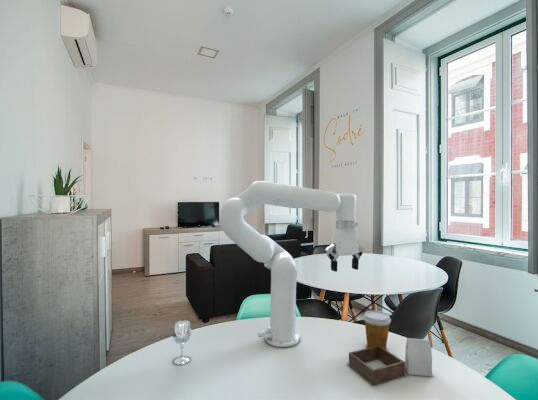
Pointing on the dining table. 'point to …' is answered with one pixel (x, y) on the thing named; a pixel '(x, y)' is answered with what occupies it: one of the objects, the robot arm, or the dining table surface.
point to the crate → (380, 374)
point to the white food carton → (418, 357)
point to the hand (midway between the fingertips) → (344, 269)
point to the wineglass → (182, 338)
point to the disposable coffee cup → (376, 328)
